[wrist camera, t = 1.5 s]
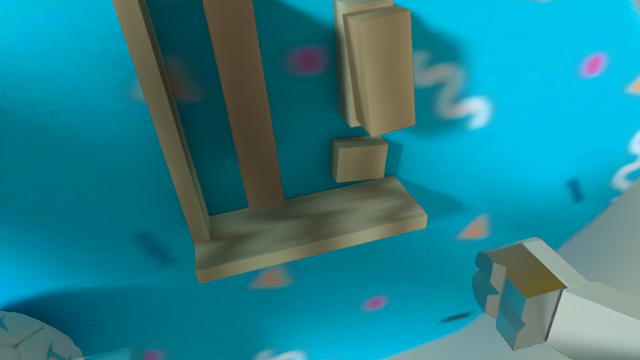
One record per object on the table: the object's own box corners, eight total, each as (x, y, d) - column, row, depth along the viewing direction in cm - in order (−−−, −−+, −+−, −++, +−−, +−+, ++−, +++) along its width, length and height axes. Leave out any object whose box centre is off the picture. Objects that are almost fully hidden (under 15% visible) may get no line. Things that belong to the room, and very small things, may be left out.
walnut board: (239, 159, 30) (249, 211, 24) (201, -16, 24) (201, -2, 18) (268, 153, 30) (284, 203, 25) (238, -21, 24) (250, -8, 18)
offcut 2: (329, 170, 33) (336, 182, 31) (331, 137, 31) (338, 148, 30) (374, 166, 34) (383, 177, 32) (378, 134, 32) (388, 144, 31)
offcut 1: (338, 112, 30) (351, 127, 28) (332, -2, 26) (346, 4, 24) (375, 105, 31) (390, 120, 28) (375, -7, 27) (393, -1, 24)
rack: (197, 231, 32) (198, 284, 27) (81, -130, 20) (42, -154, 15) (393, 186, 35) (426, 227, 30) (400, -151, 23) (458, -176, 18)
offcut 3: (356, 119, 28) (372, 137, 25) (342, 14, 24) (358, 23, 21) (396, 108, 28) (415, 124, 25) (388, 3, 24) (410, 10, 22)
